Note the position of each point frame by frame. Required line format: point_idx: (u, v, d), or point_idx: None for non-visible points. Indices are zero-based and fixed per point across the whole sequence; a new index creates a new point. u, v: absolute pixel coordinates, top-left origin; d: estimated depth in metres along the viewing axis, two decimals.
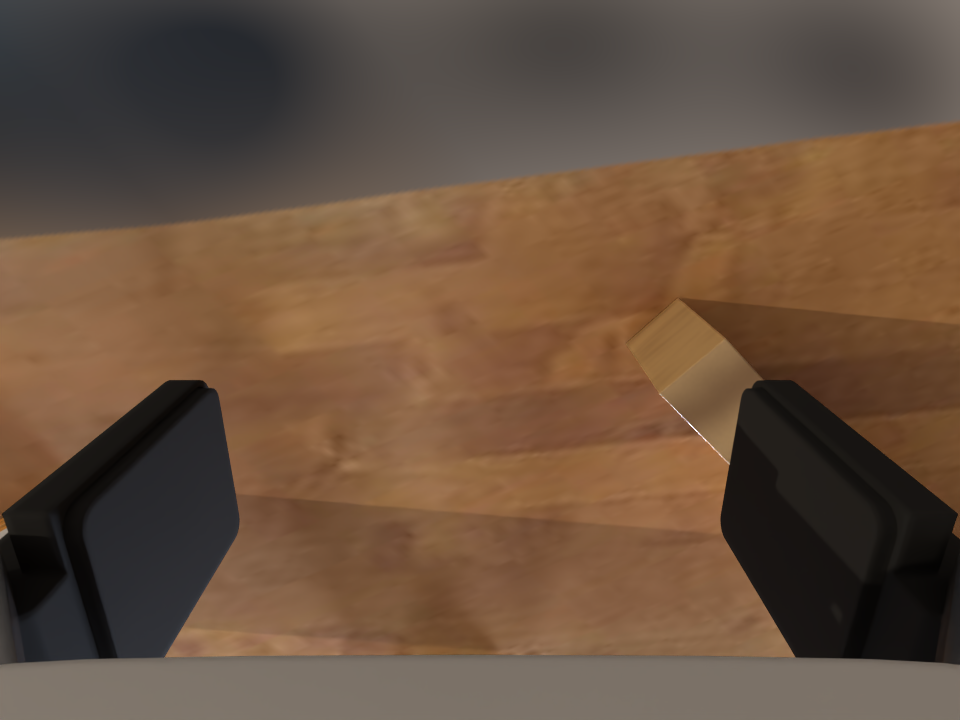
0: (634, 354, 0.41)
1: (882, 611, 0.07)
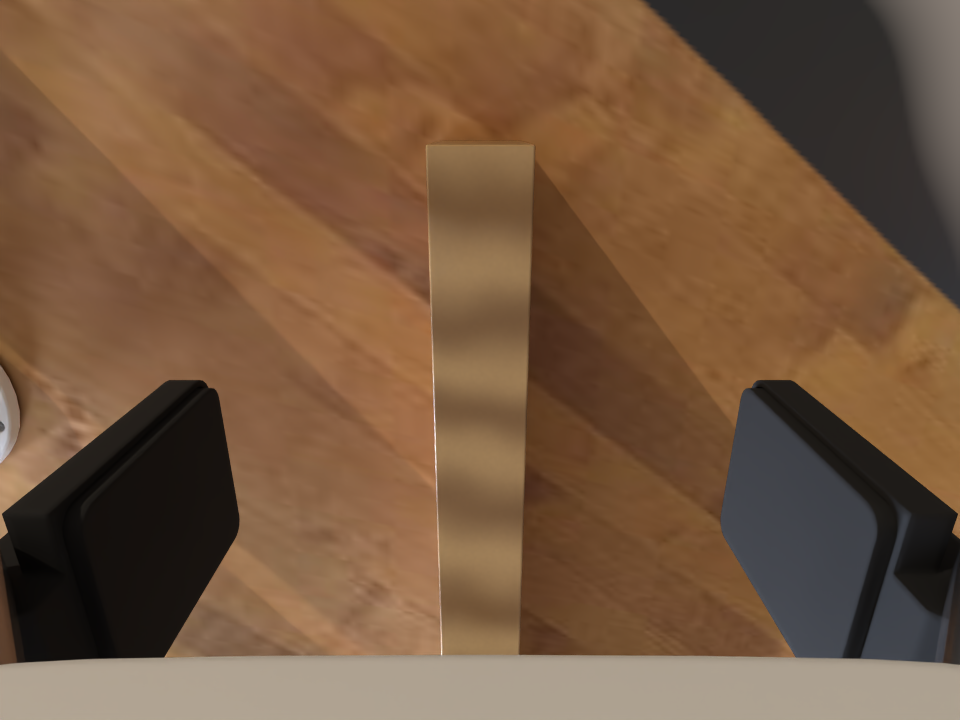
0: None
1: (881, 611, 0.07)
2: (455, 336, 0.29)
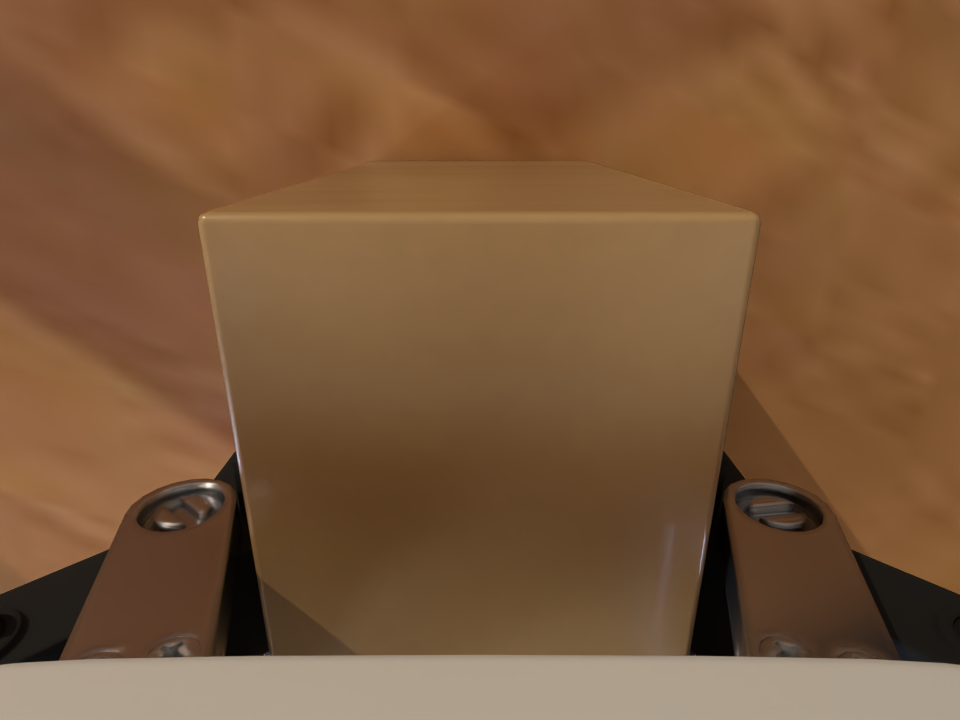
0: (353, 167, 0.11)
1: None
2: None
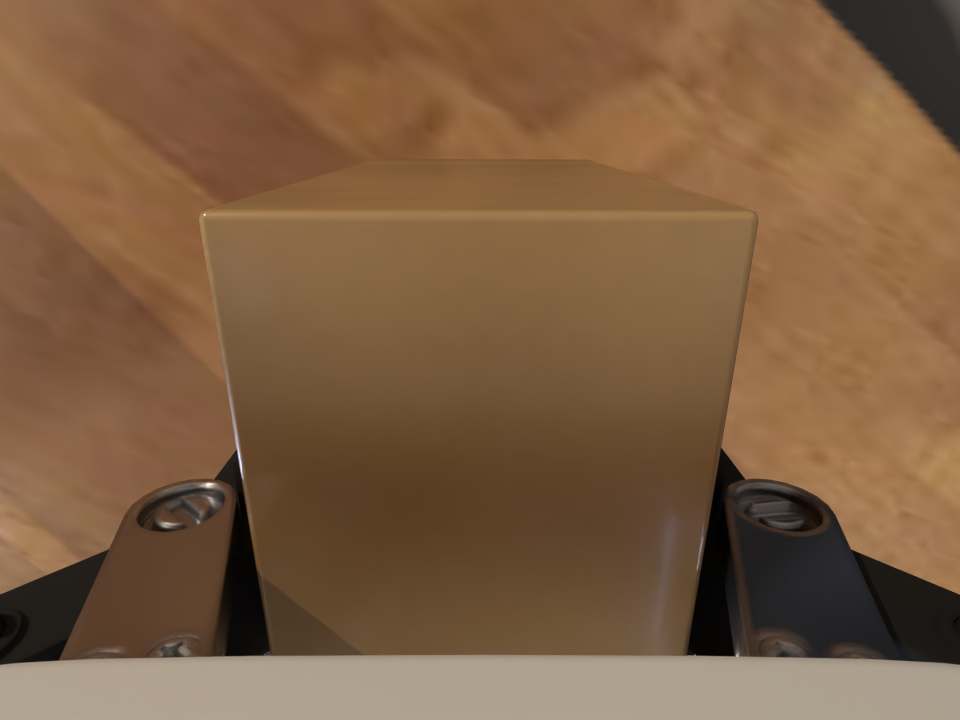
0: (354, 166, 0.11)
1: None
2: None
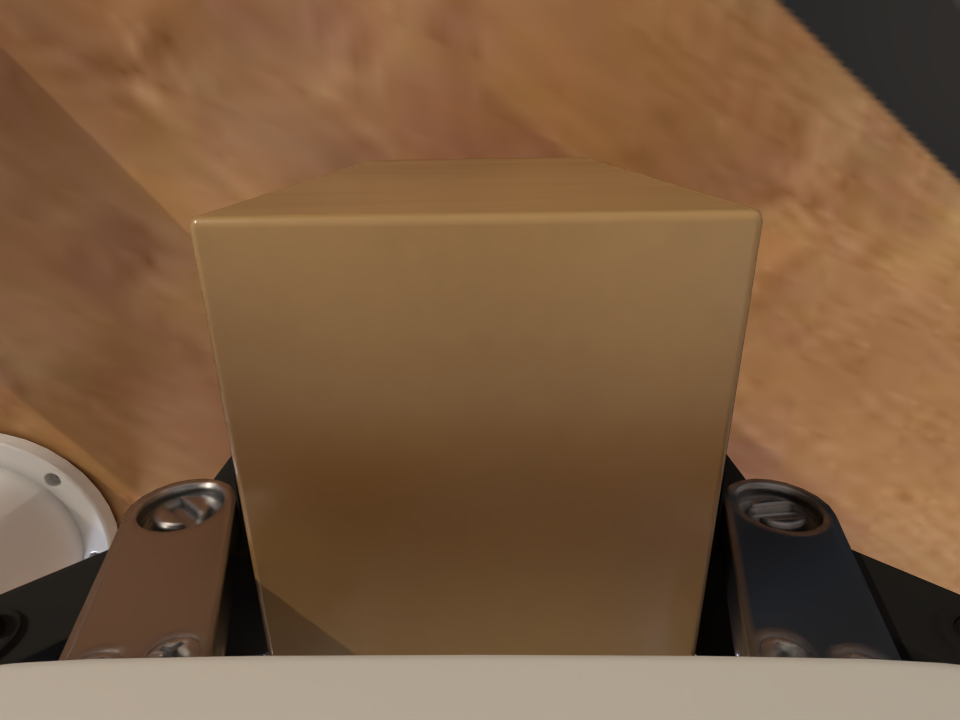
0: (349, 167, 0.11)
1: None
2: None
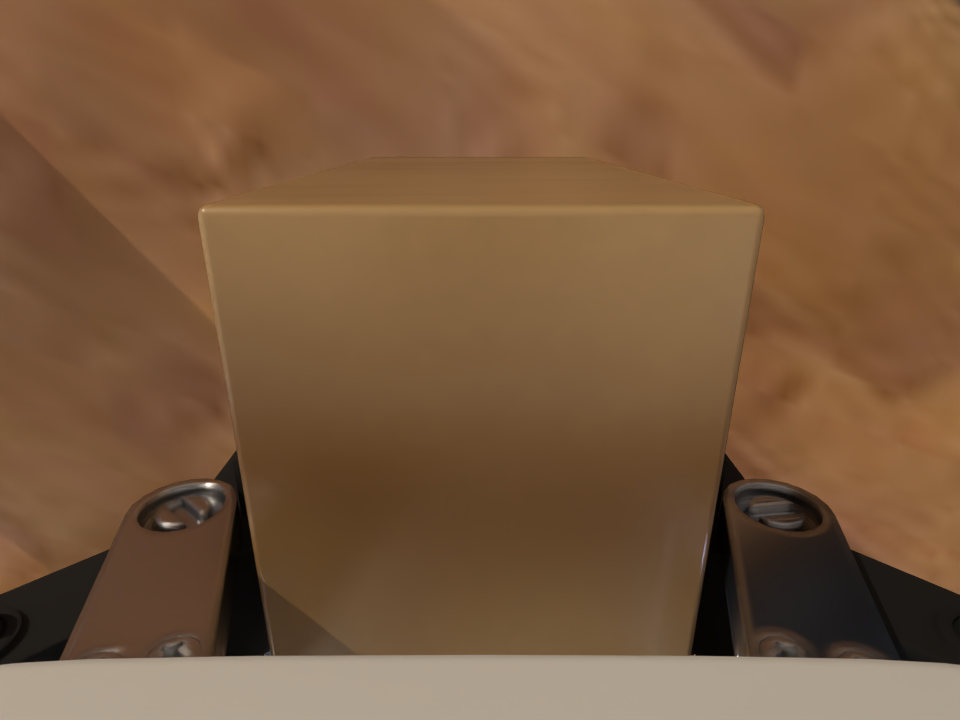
0: (352, 163, 0.11)
1: None
2: None
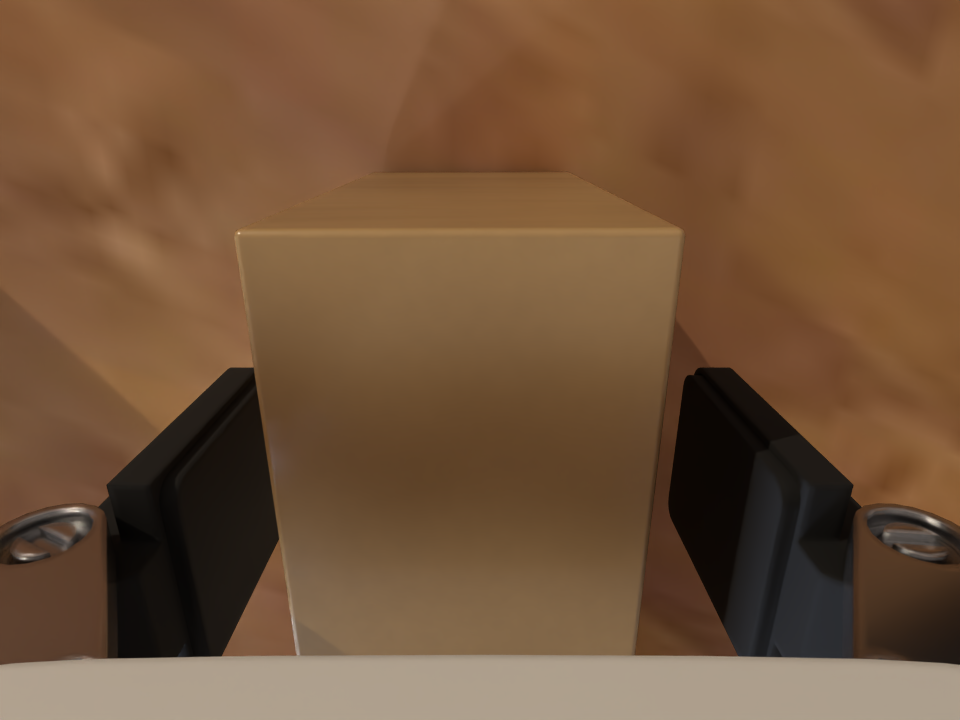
0: (355, 180, 0.12)
1: (789, 577, 0.07)
2: None
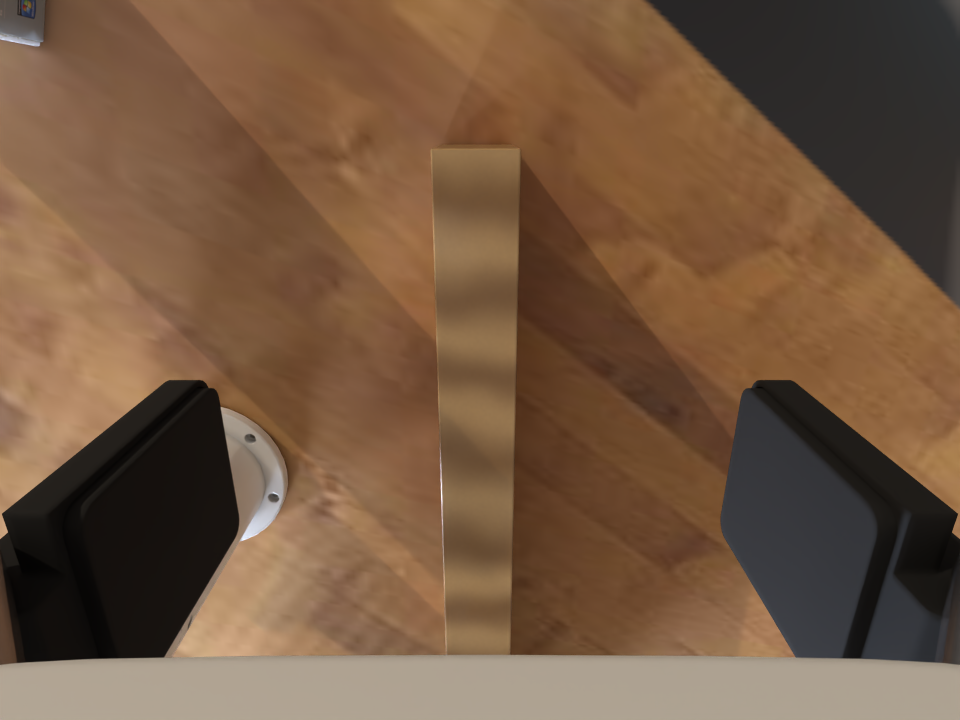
0: (439, 145, 0.38)
1: (881, 611, 0.07)
2: (455, 309, 0.35)
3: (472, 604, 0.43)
